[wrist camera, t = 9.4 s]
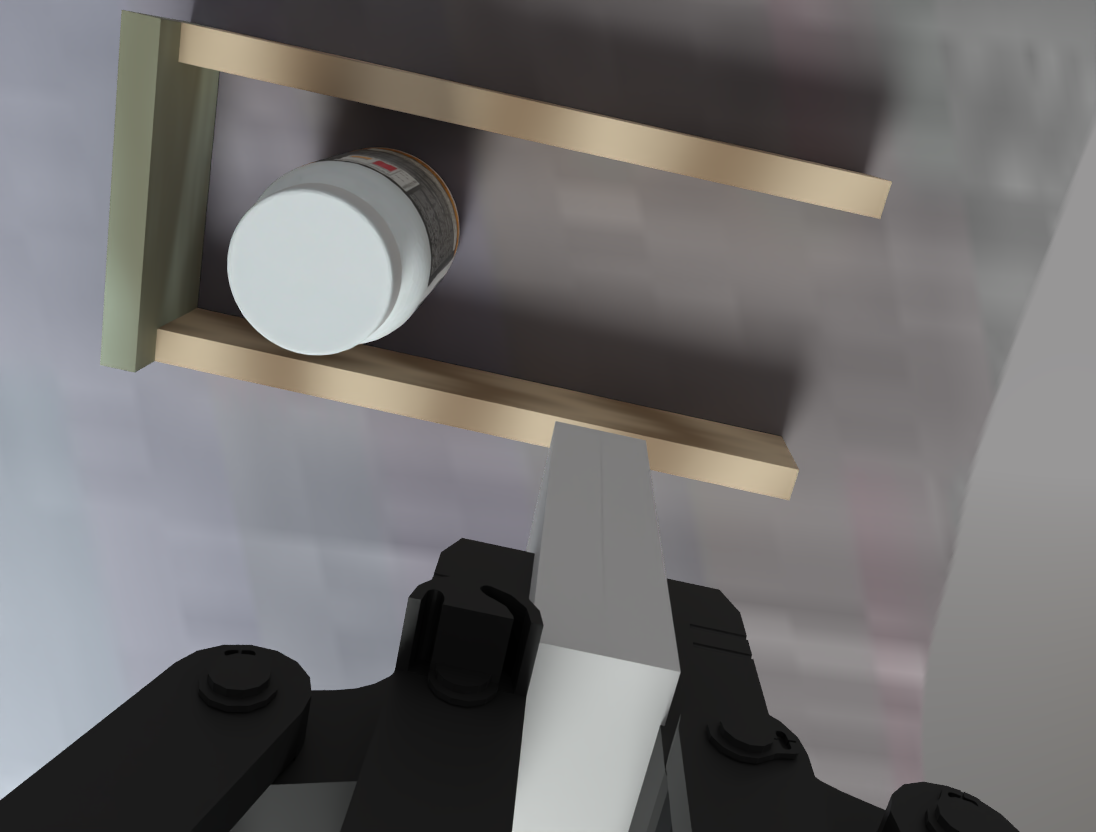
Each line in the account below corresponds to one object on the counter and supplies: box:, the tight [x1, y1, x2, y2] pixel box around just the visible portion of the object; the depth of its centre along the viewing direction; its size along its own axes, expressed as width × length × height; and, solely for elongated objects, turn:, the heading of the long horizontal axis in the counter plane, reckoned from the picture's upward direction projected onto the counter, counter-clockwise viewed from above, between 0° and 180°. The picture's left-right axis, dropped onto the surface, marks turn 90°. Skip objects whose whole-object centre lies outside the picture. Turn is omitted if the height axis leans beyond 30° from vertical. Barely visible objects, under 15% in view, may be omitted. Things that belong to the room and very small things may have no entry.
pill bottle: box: [227, 147, 460, 355], centre depth 31 cm, size 6×6×10 cm
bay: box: [100, 10, 892, 500], centre depth 33 cm, size 24×11×5 cm, turn 78°
